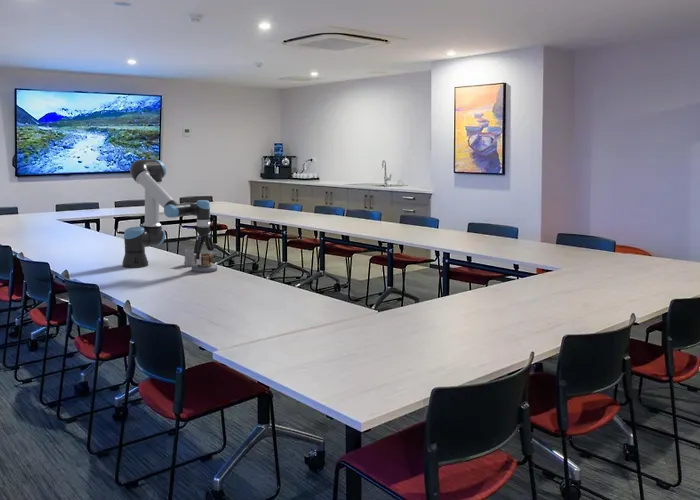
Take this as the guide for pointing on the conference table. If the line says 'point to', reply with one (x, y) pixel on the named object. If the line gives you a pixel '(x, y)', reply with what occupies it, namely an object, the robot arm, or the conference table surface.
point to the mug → (189, 257)
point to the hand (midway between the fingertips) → (204, 262)
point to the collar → (205, 259)
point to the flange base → (204, 268)
